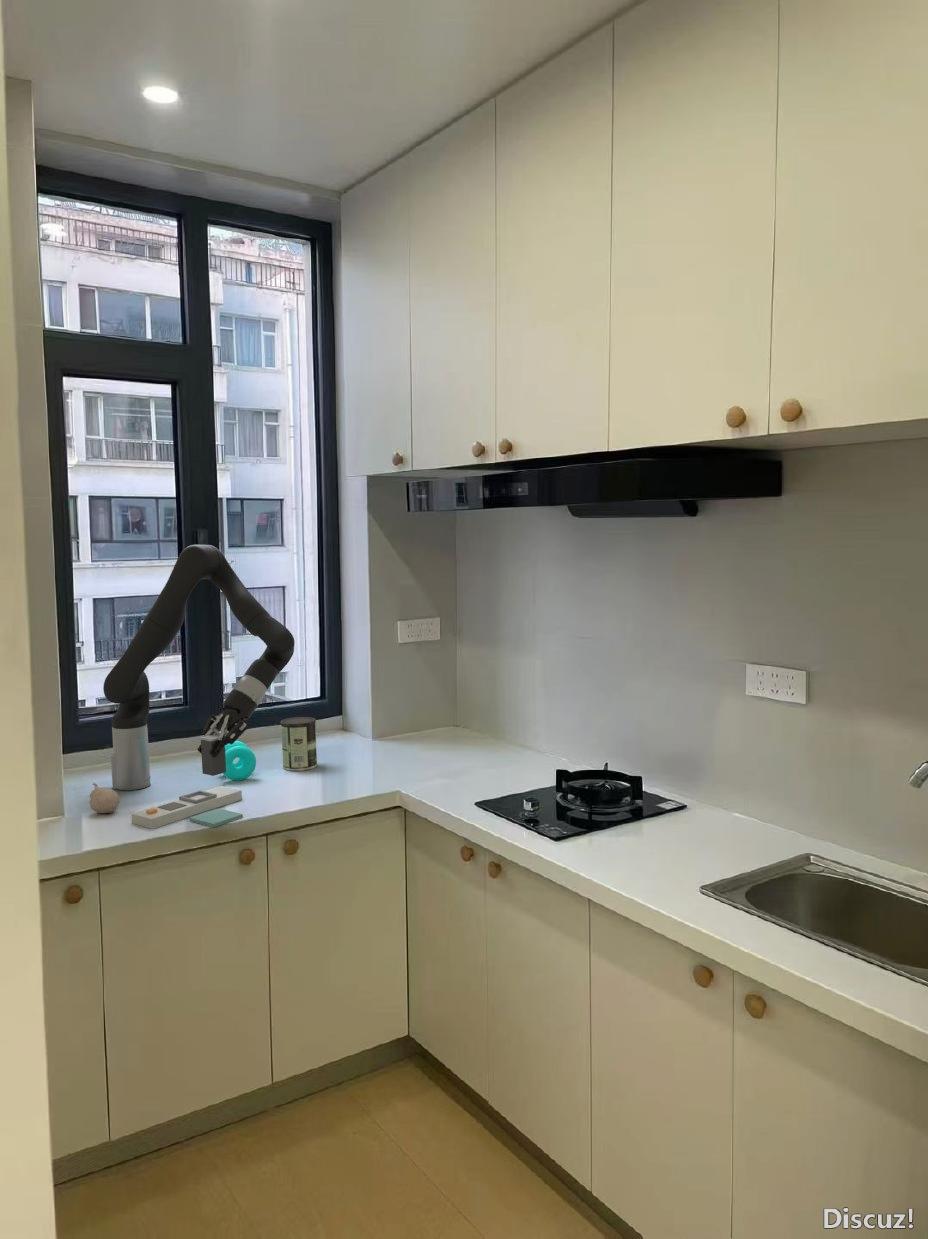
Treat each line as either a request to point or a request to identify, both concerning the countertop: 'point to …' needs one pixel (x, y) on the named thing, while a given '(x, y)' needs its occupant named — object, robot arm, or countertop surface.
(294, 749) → the coffee can
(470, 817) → the countertop surface
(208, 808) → the strip
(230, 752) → the donuts
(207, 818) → the pad
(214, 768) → the block
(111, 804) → the garlic bulb
